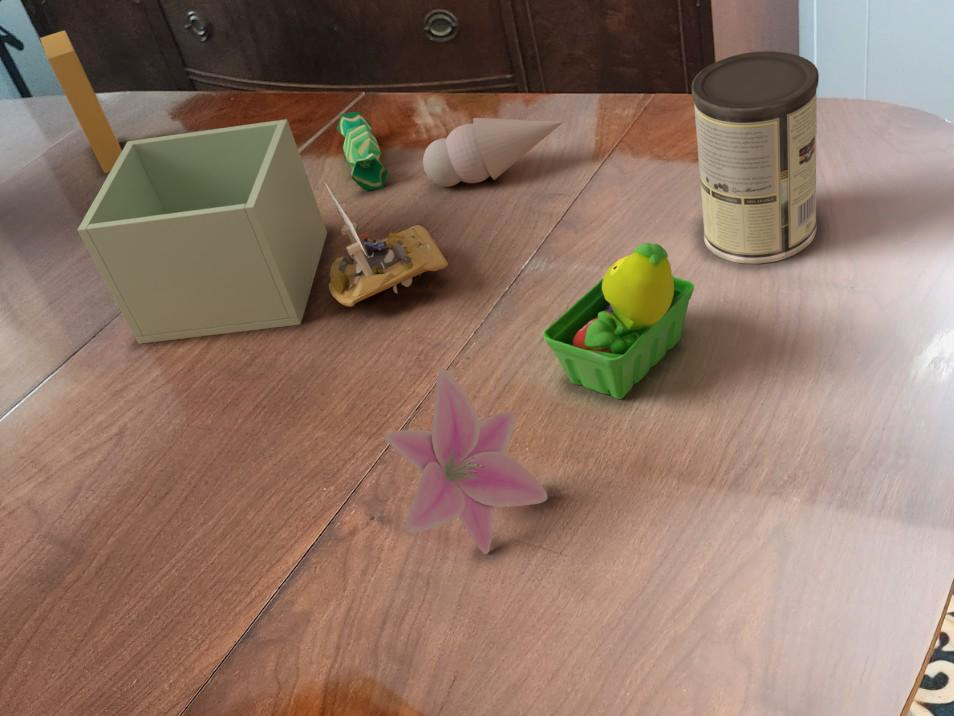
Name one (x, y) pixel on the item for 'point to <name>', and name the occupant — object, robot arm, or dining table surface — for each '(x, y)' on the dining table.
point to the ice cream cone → (482, 149)
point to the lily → (463, 466)
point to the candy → (362, 151)
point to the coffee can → (757, 155)
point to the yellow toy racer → (380, 261)
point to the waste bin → (207, 232)
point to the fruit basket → (622, 323)
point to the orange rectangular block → (82, 98)
